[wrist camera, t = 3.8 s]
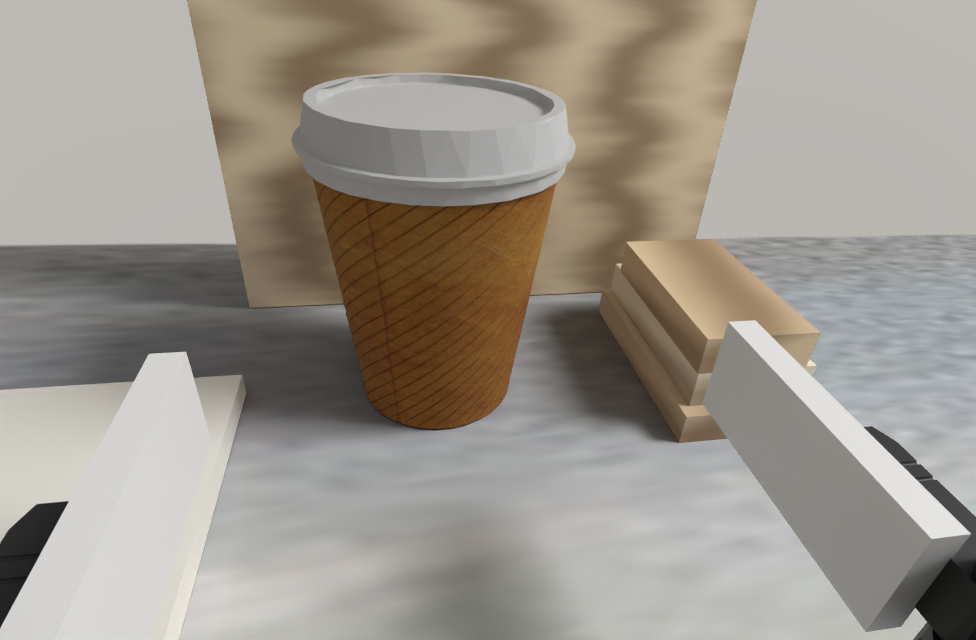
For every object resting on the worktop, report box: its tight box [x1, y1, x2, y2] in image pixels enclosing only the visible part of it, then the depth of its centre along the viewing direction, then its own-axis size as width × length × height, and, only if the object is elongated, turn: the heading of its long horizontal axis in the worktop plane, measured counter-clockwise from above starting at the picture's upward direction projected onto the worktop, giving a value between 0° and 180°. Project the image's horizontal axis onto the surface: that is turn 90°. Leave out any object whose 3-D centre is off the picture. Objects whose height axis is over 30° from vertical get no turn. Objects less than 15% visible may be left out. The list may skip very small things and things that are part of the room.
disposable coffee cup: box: [291, 72, 576, 429], centre depth 23 cm, size 10×10×12 cm
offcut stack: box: [599, 239, 821, 443], centre depth 27 cm, size 6×10×5 cm, turn 9°
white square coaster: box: [0, 375, 246, 640], centre depth 18 cm, size 12×12×1 cm
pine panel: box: [187, 0, 757, 308], centre depth 28 cm, size 25×2×17 cm, turn 100°
